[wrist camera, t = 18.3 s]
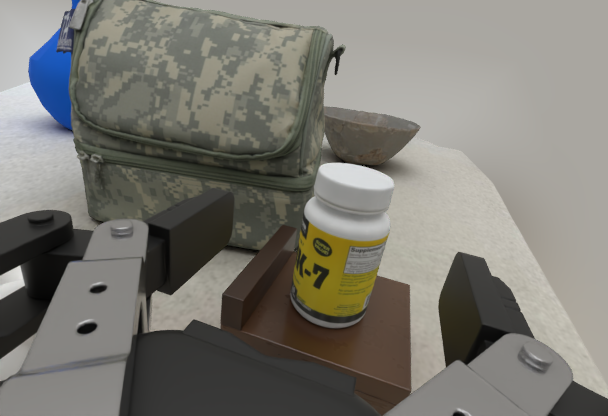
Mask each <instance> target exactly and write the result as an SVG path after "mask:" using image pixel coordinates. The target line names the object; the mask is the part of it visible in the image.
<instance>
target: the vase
mask: <svg viewBox="0 0 608 416" xmlns="http://www.w3.org/2000/svg"><path fill="white" fill-rule="evenodd" d="M79 1H80V0H72V9H76V7H77V5H78V3H79ZM60 29H61V28H60ZM60 29H59V30H58V31H57V32H56V33H55V34H54V35H53V36H52V38H51V39H50V40H49V41H48V42H46V43H45V44H44V45H43V46H42V47H41V48H40V49H39V50H38V51H37V52H36V53H34V54H33V55H32V56H31V57H30V60H29V71H28V72H29V77H30V82H31V85H32V87H33V89H34V91H35V92H36V94H37V96H38V98H39V100H40V102H41V103H42V105H43V106H44V107H45V109H46V110H47V111H48V112H49V113H50V114H51V115H52V117H53V118H54V119H55V120H56V121H58V122H59V123H60V124H62V125H63V126H64V127H66V128H68V129H71V130H72V127H71V101H70V96H69V77H70V69H71V52H66V53H63V51H62V52H58V53H57V52H56V50H57V44H58V39H59V34H60Z"/></svg>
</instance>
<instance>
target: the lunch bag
mask: <svg viewBox="0 0 608 416" xmlns="http://www.w3.org/2000/svg"><path fill="white" fill-rule="evenodd" d="M333 44H334V40H333V36H332V35H331V34H328V32H327V30H326V29H325V28H323V27H319V26H310V27H304V26H300V25H293V24H286V23H278V22H275V21H268V20H258V19H253V18H248V17H242V16H237V15H233V14H229V13H225V12H220V11H214V10H201V9H198V8H186V7H177V6H172V5H166V4H163V3H160V2H156V1H153V0H80V1H79V3H78V5H77V7H76V9H71V10H70V11H66V12H65V14H64V17H63V21H62V24H61V29H60V34H59V39H58V44H57V50H56V52H57V53H58V52H62V51H63V53H66V52H71V69H70V77H69V96H70V101H71V127H72V130H73V133H74V137H75V138H74V143H75V149H76V151H77V153H78V155H77V158H79V159H80V163H81V167H82V172H83V179H84V184H85V192H86V199H87V204H88V213H89V215H90V217H92V218H93V219H96V220H99V221H103V222H107V221H110V220H115V219H124V218H126V219H137V220H141V221H144V220H146V219H148V218H150V217H152V216H154V215H156V214H157V213H159V212H161V211H163V210H167V208H169V207H171V206H174V205H175V204H176V203H178V202H180V201H182V200H184V199H188V198H192V197H196V196H199V195H200V194H202V193H204V192H206V191H208V190H210V189H211V188H217V189H221V190H225V191H229V192H232V193H233V194H234V198H235V202H234V217H233V231H232V236H231V238H230V241H229V242H228V244H227V245H232V246H237V247H243V248H248V249H254V250H261V249H262V248H263V247H264V245H265V244H266V243H267V242H268V241H269V240H270V238H271V237H272V236H273V235H274V234H275V233H276V232H277V230H278V229H279V228H280V227H281V226H282V225H286V226H290V227H294V228H297V234H296V240H295V247H294V249H296V248H297V247H298V243H299V238H300V231H301V225H302V219H303V213H304V209H305V206H306V204H307V202H308V201H309V200H310V199H311V198H312V197H314V196H315V195H314V185H315V181H316V177H317V173H318V169H319V167H320V159H321V145H322V141H323V137H324V131H325V118H324V106H323V99H324V83H325V80H326V76H327V70H328V67H329V64H330V62H331V59H332V58H333V57H335V58H336V66H335V75H336V74H337V71H338V66H339V60H340V56H341V55H342V54H343V53H344V51H345V48H346V47H345V45H341V46H340V47H338V48H337V49H336V50H334V51H333V46H334V45H333Z"/></svg>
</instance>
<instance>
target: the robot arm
mask: <svg viewBox="0 0 608 416" xmlns="http://www.w3.org/2000/svg"><path fill="white" fill-rule="evenodd" d="M234 202H235V198H234V194H233V193H232V192H229V191H225V190H221V189H217V188H211V189H210V190H208V191H206V192H204V193H202V194H200V195H199V196H196V197H192V198H188V199H184V200H182V201H180V202H178V203H176V204H175V205H174V206H171V207H169V208H167V210H163V211H161V212H159V213H157V214H156V215H154V216H152V217H150V218H148V219H146V220H144V221H141V220H137V219H126V218H124V219H115V220H110V221H107V222H104V223H102V224H100V225H98V226H97V227H96V228H95V230H94V231H90V230H79V229H73V225H72V219H71V215H70V214H68V213H66V212H63V211H57V210H42V211H35V212H30V213H26V214H23V215H20V216H17V217H15V218H12V219H9V220H7V221H4V222H1V223H0V275H2V274H4V273H6V272H8V271H10V270H12V269H14V268H16V267H18V266H20V267H21V272H22V276H23V280H24V284H25V286H23V287H22V288H20V289H18V290H16V291H15V292H13V293H11V294H9V295H8V296H6V297H4V298H2V299H1V300H0V359H1V358H3V357H4V356H5V355H7V354H8V353H10V352H11V351H12V350H14V349H15V348H16V347H18V346H19V345H21V344H22V343H23V342H25V341H26V340H27V339H29V338H30V337H31V336H33V335H34V334H36V333H37V334H36V336H35V338H34V340H33V342H32V345H31V347H30V349H29V351H28V353H27V356H26V358H25V360H24V362H23V364H22V366H21V368H20V370H19V371H18V372H17V373H16V374H14V375H11V376H10V377H8V378H7V379H6V380H3V381H0V416H381V415H380V414H379V413H378V412H377V411H376V410H375V409H374V408H373V407H372V406H371V405H370V404H369V403H367V402H366V401H365V400H364V399H362V398H361V397H359V396H358V395H356V394H355V393H354V391H355V385H356V379H357V378H356V377H353V376H350V375H347V374H345V373H342V372H339V371H336V370H333V369H331V368H328V367H325V366H322V365H320V364H317V363H314V362H308V361H300V360H293V359H285V358H278V357H270V356H267V355H264V354H262V353H261V352H259V351H258V350H256V349H255V348H253V347H252V346H250V345H249V344H247V343H246V342H244V341H243V340H241V339H240V338H238V337H236V336H235V335H233V334H232V333H230V332H228V331H225V330H222V329H219V328H216V327H214V326H211V325H208V324H205V323H202V322H200V321H197V320H193V321H192V322H191V323H190V324H189V325H188V326H187V327H186V328H185V330H184V331H181V330H161V331H154V332H150V327H151V312H152V293H153V292H155V291H156V290H157V291H160V292H163V293H166V294H168V295H172V294H173V293H174V292H175V291H177V290H178V289H179V288H180V287H181V286H182V285H183V284H184V283H185V282H186V281H188V280H189V279H190V278H191V277H192V276H193V275H194V274H195V273H196V272H198V271H199V270H200V269H201V268H202V267H203V266H204V265H205V264H206V263H208V262H209V261H210V260H211V259H212V258H213V257H214V256H215V255H216V254H218V253H219V252H220V251H221V250H222V249H223V248H224V247H225V246H226V245H227V244H228V242H229V241H230V238H231V236H232V231H233V217H234ZM439 317H440V325H441V332H442V340H443V348H444V355H445V363H446V368H445V369H444V370H442V371H441V372H440V373H438V374H437V375H436V376H434V377H433V378H432V379H430V380H429V381H428V382H427V383H425V384H424V385H423V386H421V387H420V388H419V389H417V390H416V391H415V392H413V393H412V394H411V395H409V396H408V397H407V398H405V399H404V400H403V401H401V402H400V403H399V404H397V405H396V406H395V407H394V408H392V409H391V410H390V411H388V412H387V413H386V414H384V415H383V416H608V399H607V398H605V397H603V396H601V395H599V394H597V393H595V392H593V391H591V390H589V389H587V388H585V387H583V386H581V385H580V384H578V383H576V382H574V381H573V373H572V370H571V369H570V367H569V365H568V364H567V363H566V361H565V360H564V359H563V358H562V357H561V356H560V355H559V354H558V353H556V352H555V351H554V350H553V349H551V348H550V347H548V346H547V345H545V344H543V343H542V342H540V341H538V340H536V339H535V338H534V336H533V334H532V332H531V330H530V328H529V326H528V324H527V322H526V320H525V318H524V316H523V314H522V312H520V308H519V306H518V304H517V303H516V299H515V297H514V295H513V293H512V291H511V289H510V288H509V287H508V286H507V285H506V284H505V283H504V282H502V281H501V280H500V279H499V278H498V277H494V276H492V275H491V273H490V271H489V268H488V266H487V264H486V261H485V259H484V258H481V257H477V256H473V255H469V254H465V253H461V252H458V253H457V254H456V256H455V258H454V260H453V263H452V265H451V268H450V271H449V273H448V276H447V278H446V281H445V283H444V286H443V289H442V291H441V294H440V299H439Z"/></svg>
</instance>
